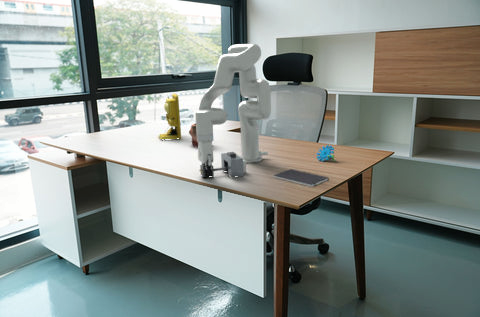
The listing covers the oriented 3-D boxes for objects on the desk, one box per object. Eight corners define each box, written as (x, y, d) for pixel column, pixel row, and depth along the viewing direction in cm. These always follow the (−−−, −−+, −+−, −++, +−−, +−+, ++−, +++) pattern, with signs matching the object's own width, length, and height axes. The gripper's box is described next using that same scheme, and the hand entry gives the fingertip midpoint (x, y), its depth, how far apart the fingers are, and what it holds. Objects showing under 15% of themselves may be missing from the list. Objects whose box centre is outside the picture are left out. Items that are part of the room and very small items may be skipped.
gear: (312, 156, 207) (324, 141, 207) (318, 162, 210) (330, 148, 210) (325, 163, 197) (338, 148, 198) (331, 169, 201) (343, 155, 201)
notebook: (328, 180, 172) (290, 172, 187) (328, 177, 172) (290, 169, 187) (311, 188, 164) (273, 178, 179) (311, 184, 163) (273, 175, 178)
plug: (243, 169, 190) (242, 158, 189) (246, 172, 186) (246, 160, 185) (199, 175, 183) (198, 164, 182) (201, 178, 179) (201, 166, 178)
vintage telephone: (157, 134, 289) (153, 93, 281) (175, 132, 293) (172, 92, 285) (161, 142, 260) (157, 97, 252) (182, 140, 264) (179, 96, 256)
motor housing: (233, 168, 194) (232, 149, 191) (243, 176, 181) (242, 155, 178) (221, 170, 192) (220, 150, 189) (231, 178, 179) (230, 157, 176)
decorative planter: (220, 145, 245) (219, 123, 242) (206, 149, 237) (205, 126, 233) (198, 142, 258) (197, 121, 255) (184, 145, 249) (182, 124, 246)
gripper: (192, 135, 184) (195, 172, 189) (202, 142, 169) (204, 182, 173) (207, 133, 186) (209, 170, 191) (218, 140, 171) (220, 179, 176)
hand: (207, 175), depth 182 cm, fingers closed on plug, 4 cm apart
